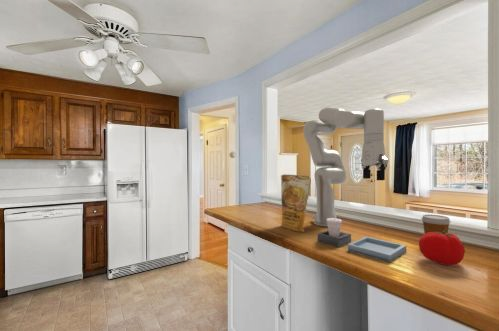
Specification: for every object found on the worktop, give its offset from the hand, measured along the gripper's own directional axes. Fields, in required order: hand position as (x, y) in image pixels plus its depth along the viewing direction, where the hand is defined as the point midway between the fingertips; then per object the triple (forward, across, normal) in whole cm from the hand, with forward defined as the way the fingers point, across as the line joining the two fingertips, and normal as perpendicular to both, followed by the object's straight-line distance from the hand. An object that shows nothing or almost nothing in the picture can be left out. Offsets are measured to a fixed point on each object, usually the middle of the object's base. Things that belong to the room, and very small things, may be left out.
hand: (373, 179), depth 106 cm
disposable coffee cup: (+27, +7, +22) cm, 36 cm away
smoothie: (+27, -3, -16) cm, 32 cm away
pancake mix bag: (+28, -27, -27) cm, 47 cm away
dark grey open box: (+27, -3, -16) cm, 32 cm away
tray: (+27, +10, -5) cm, 29 cm away
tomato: (+27, +22, +11) cm, 37 cm away
